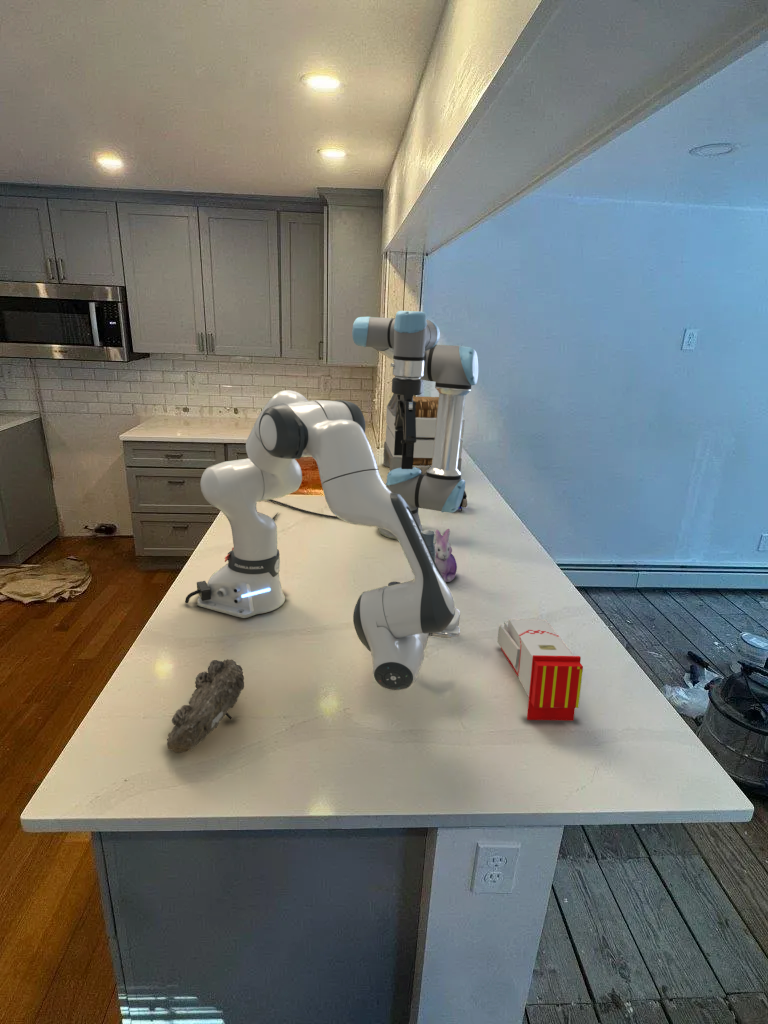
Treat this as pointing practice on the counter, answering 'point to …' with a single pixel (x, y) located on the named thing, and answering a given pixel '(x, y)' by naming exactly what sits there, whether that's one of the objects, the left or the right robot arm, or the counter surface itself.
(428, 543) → the bottle
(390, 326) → the right robot arm
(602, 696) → the counter surface
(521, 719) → the counter surface
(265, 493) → the left robot arm
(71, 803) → the counter surface
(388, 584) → the cap
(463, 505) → the figurine character
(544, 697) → the toy
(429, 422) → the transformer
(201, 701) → the fossil
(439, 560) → the figurine
